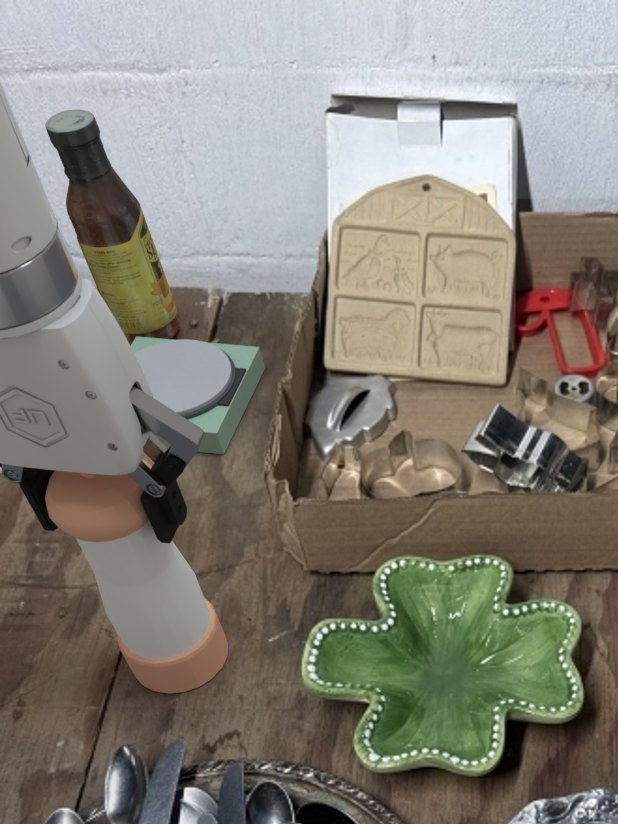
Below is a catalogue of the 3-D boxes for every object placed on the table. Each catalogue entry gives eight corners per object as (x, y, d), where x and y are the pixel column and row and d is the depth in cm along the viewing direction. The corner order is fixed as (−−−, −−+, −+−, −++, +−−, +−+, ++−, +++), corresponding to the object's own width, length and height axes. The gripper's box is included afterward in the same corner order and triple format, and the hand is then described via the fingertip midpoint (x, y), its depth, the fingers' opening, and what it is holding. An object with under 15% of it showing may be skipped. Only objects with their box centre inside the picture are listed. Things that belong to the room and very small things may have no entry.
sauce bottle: (193, 336, 103) (122, 125, 87) (132, 360, 102) (48, 149, 85) (166, 303, 107) (93, 94, 90) (106, 326, 105) (21, 116, 88)
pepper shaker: (197, 705, 78) (105, 514, 63) (112, 678, 80) (1, 486, 64) (246, 632, 82) (170, 436, 66) (164, 608, 84) (72, 411, 68)
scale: (95, 442, 95) (81, 413, 92) (144, 357, 102) (133, 328, 99) (224, 454, 94) (214, 425, 91) (265, 368, 100) (257, 339, 98)
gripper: (-198, 302, 54) (-35, 549, 68) (130, 330, 52) (225, 578, 66) (-122, 219, 58) (16, 469, 72) (183, 243, 56) (262, 494, 71)
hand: (115, 520), depth 69 cm, fingers closed on pepper shaker, 7 cm apart
